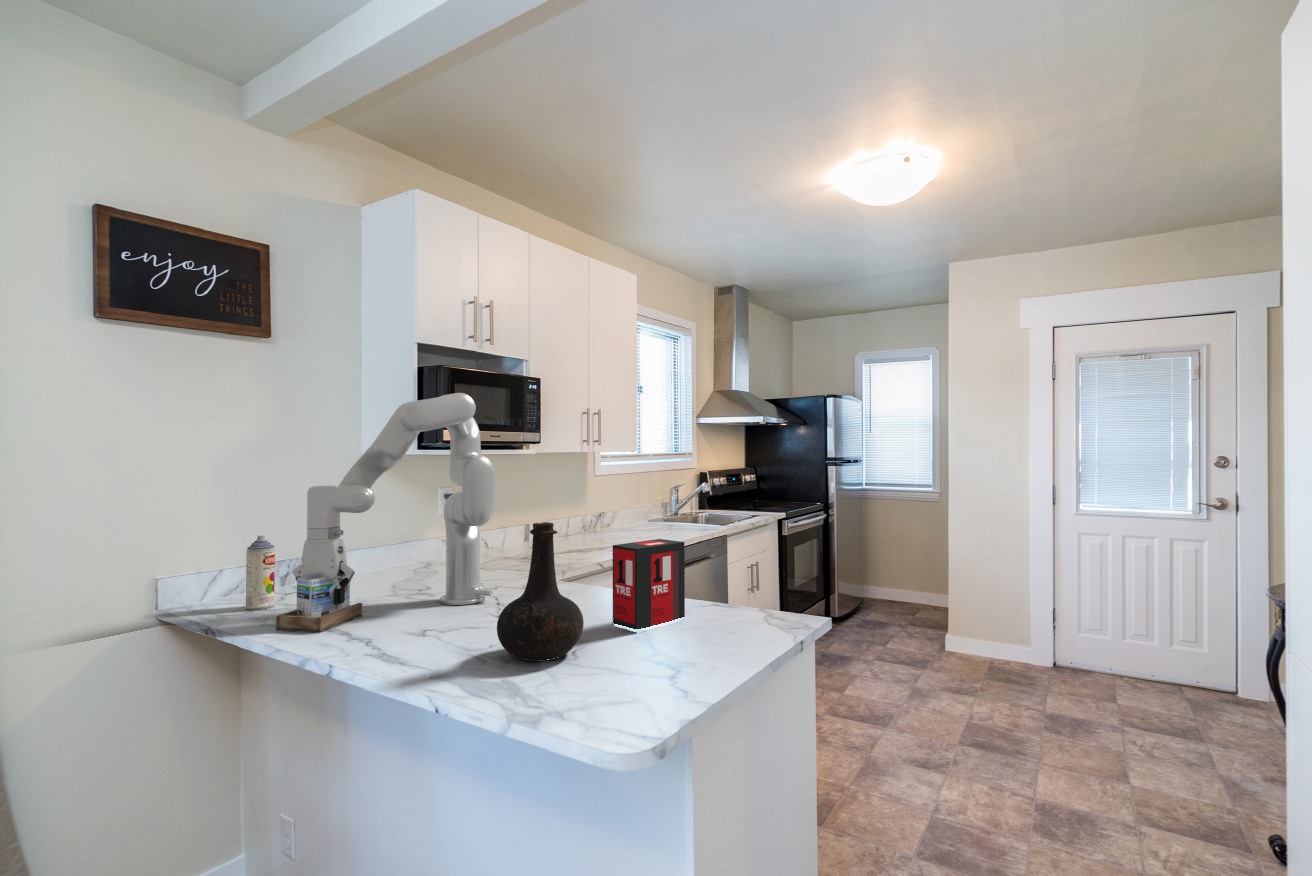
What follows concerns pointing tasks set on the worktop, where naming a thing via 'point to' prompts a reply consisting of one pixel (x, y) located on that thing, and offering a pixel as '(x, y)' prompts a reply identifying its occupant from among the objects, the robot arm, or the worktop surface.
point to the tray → (317, 619)
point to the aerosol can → (260, 574)
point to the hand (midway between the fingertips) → (323, 602)
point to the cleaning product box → (648, 583)
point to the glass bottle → (540, 608)
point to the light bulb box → (318, 596)
